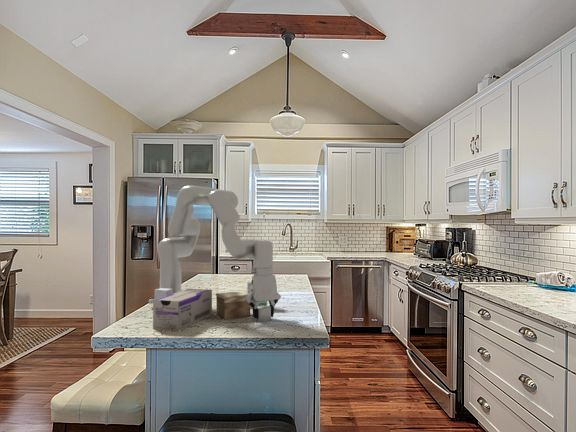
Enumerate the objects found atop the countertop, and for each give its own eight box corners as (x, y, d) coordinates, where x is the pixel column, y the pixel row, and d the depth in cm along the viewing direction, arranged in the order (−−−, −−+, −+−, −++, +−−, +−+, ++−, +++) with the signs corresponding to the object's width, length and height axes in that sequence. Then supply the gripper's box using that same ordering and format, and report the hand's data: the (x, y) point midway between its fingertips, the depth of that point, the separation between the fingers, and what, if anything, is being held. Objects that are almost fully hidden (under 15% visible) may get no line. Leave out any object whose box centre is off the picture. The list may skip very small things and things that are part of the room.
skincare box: (173, 318, 154) (173, 288, 154) (166, 321, 150) (166, 290, 150) (160, 317, 156) (160, 287, 156) (153, 319, 152) (153, 289, 152)
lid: (225, 302, 151) (224, 296, 151) (215, 299, 161) (215, 293, 161) (252, 300, 157) (252, 294, 157) (241, 296, 166) (241, 291, 167)
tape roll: (259, 322, 147) (259, 309, 148) (253, 319, 153) (253, 306, 153) (273, 320, 150) (273, 307, 150) (266, 317, 156) (266, 304, 156)
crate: (225, 319, 152) (225, 299, 152) (216, 314, 161) (216, 295, 161) (250, 316, 158) (250, 296, 158) (240, 311, 166) (240, 293, 166)
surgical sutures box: (178, 331, 136) (179, 301, 136) (152, 329, 139) (153, 299, 139) (211, 315, 160) (211, 289, 160) (189, 313, 163) (189, 288, 163)
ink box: (267, 306, 177) (267, 280, 177) (265, 308, 172) (265, 282, 172) (249, 306, 178) (249, 280, 178) (247, 308, 173) (247, 282, 173)
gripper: (247, 274, 144) (247, 322, 144) (286, 271, 153) (287, 316, 153) (239, 272, 151) (239, 318, 150) (277, 269, 160) (278, 313, 159)
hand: (263, 316), depth 152 cm, fingers closed on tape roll, 6 cm apart
